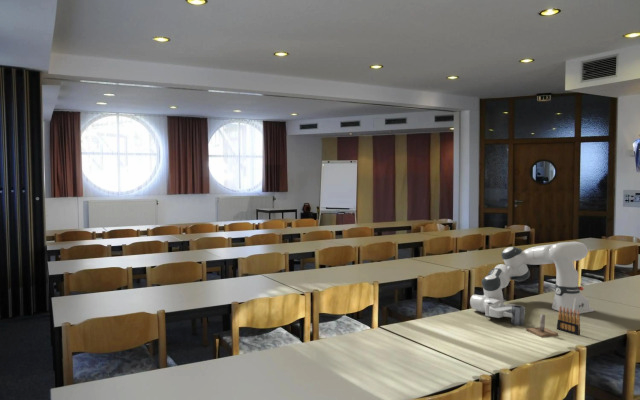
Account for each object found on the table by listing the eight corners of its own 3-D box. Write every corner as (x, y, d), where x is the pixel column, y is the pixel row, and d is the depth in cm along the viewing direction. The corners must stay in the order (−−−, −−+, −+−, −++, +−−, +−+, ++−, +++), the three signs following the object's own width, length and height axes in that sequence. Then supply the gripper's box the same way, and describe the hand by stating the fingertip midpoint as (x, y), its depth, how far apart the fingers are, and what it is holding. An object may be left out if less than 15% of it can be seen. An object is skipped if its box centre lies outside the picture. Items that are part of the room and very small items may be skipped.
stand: (542, 328, 248) (543, 311, 248) (557, 335, 239) (558, 317, 238) (526, 330, 245) (527, 312, 245) (540, 337, 236) (541, 318, 235)
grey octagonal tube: (518, 321, 260) (519, 304, 259) (526, 325, 254) (527, 307, 253) (508, 322, 258) (509, 305, 257) (516, 326, 252) (517, 308, 252)
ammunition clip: (556, 329, 248) (557, 305, 248) (558, 328, 249) (559, 305, 249) (578, 335, 240) (579, 311, 239) (580, 334, 241) (581, 310, 240)
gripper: (508, 311, 273) (530, 317, 261) (483, 316, 262) (505, 323, 250) (508, 299, 272) (531, 305, 261) (483, 304, 261) (506, 311, 250)
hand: (518, 314), depth 255 cm, fingers open, 8 cm apart
